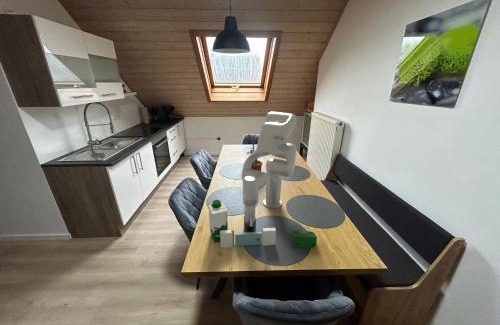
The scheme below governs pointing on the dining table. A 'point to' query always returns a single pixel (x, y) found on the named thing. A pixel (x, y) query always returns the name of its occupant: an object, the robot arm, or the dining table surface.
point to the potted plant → (256, 164)
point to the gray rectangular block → (247, 225)
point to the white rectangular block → (228, 237)
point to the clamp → (304, 239)
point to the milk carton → (217, 219)
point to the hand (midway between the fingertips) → (249, 228)
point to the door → (248, 238)
